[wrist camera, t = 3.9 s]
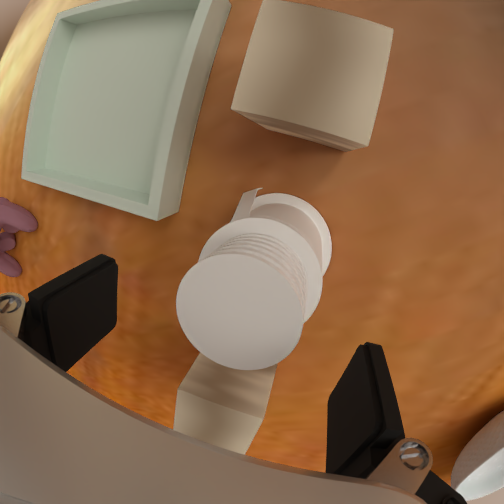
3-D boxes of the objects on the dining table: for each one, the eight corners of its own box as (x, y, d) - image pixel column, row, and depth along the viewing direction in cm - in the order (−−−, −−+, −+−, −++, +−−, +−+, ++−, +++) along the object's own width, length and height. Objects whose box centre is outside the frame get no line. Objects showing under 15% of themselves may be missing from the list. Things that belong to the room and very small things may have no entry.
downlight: (343, 288, 19) (355, 388, 10) (248, 309, 21) (195, 403, 12) (312, 172, 17) (302, 171, 8) (211, 204, 20) (118, 236, 10)
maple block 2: (364, 79, 15) (393, 29, 7) (345, 152, 16) (368, 146, 9) (286, 59, 15) (263, -2, 8) (267, 129, 17) (230, 109, 10)
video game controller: (37, 195, 25) (-16, 187, 19) (40, 227, 23) (-19, 220, 17) (17, 250, 28) (-27, 247, 22) (21, 280, 27) (-27, 279, 21)
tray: (231, 5, 14) (218, -15, 12) (178, 211, 20) (157, 221, 17) (78, 20, 16) (57, 13, 13) (44, 174, 22) (21, 178, 19)
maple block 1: (283, 339, 21) (263, 418, 14) (265, 382, 23) (243, 456, 16) (220, 318, 22) (177, 388, 14) (210, 363, 24) (173, 431, 16)
